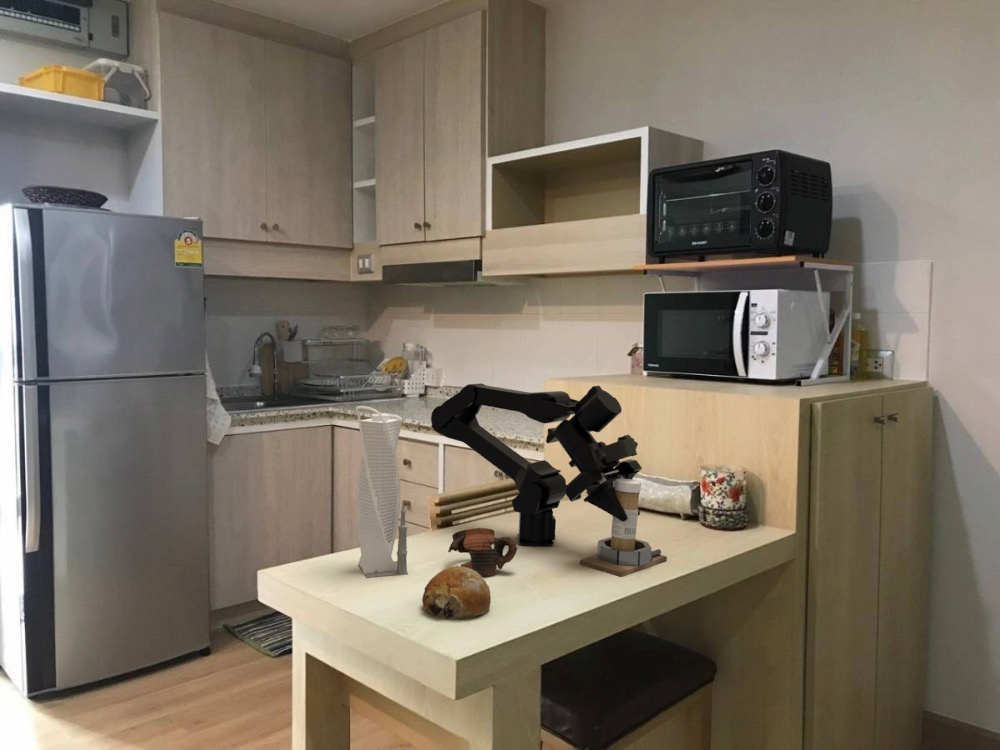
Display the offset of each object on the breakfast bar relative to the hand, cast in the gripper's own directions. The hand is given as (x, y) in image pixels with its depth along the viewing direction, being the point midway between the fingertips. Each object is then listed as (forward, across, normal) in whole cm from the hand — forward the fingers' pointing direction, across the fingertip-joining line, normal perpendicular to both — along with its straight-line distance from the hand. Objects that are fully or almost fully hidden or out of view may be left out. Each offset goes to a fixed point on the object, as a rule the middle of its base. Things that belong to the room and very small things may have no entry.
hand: (632, 518), depth 144 cm
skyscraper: (-15, -32, +28) cm, 45 cm away
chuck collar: (+5, +1, +6) cm, 8 cm away
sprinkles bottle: (+4, -1, +6) cm, 7 cm away
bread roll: (0, -38, +12) cm, 39 cm away
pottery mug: (-6, -21, +18) cm, 28 cm away
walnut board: (+5, 0, +7) cm, 8 cm away
